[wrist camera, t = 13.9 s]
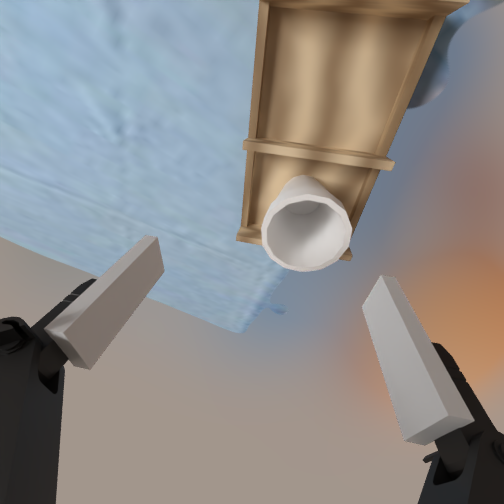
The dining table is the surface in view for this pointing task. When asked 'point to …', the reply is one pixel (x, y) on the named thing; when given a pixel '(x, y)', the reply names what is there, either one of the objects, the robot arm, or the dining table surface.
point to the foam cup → (305, 226)
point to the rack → (331, 95)
